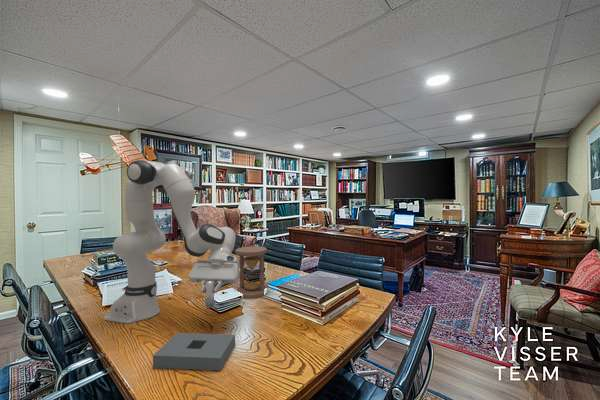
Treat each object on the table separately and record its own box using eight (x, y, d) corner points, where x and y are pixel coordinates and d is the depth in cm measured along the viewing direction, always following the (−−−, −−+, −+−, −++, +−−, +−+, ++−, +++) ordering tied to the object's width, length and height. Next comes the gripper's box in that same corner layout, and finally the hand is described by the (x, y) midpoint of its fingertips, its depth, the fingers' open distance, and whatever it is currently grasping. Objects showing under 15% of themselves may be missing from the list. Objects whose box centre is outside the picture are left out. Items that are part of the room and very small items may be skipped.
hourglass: (273, 291, 152) (273, 247, 151) (252, 301, 137) (252, 253, 137) (251, 285, 161) (250, 245, 161) (229, 294, 146) (228, 250, 146)
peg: (204, 308, 102) (204, 282, 102) (207, 304, 105) (207, 279, 105) (211, 308, 102) (212, 282, 102) (214, 305, 105) (215, 280, 105)
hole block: (153, 368, 83) (152, 355, 83) (177, 343, 97) (177, 332, 97) (220, 370, 82) (220, 358, 82) (235, 345, 96) (235, 334, 96)
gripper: (193, 256, 111) (180, 287, 101) (240, 257, 109) (232, 289, 100) (197, 264, 115) (186, 294, 106) (243, 265, 114) (236, 296, 104)
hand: (209, 292), depth 103 cm, fingers closed on peg, 3 cm apart
